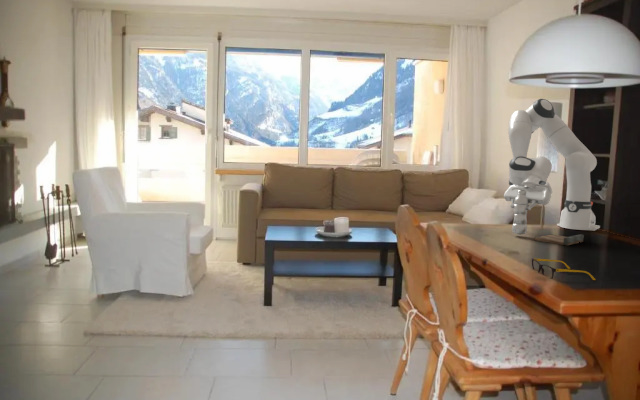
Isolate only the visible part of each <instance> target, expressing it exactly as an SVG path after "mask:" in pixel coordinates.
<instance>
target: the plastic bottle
mask: <svg viewBox="0 0 640 400" xmlns="http://www.w3.org/2000/svg"><path fill="white" fill-rule="evenodd" d="M526 194H527V193H526V190H518V196H517V197H516V198H515V200H514V208H513V209H514V210H513V211H514V212H513V213H514V216H513V217H514V218H513V221H512V222H513V223H512V227H511V231H512V233H513V234H516V235H525V234H527V232H528V223H527V222H528V221H527V214H528V210H527V209H526V207H527V205H530V203H529V200H528V198H527V197H526Z"/></svg>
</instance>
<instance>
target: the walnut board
mask: <svg viewBox="0 0 640 400" xmlns="http://www.w3.org/2000/svg"><path fill="white" fill-rule="evenodd" d="M584 237H585V235H584V234H581V233H580V234H576V235H570V236H563V235H557V234H547V235H542V236H538V237H534V241H539V242H544V243H550V244H557V245H563V246H570V245H575V244H579V242H580V243H583V242H584Z"/></svg>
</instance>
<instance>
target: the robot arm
mask: <svg viewBox="0 0 640 400" xmlns="http://www.w3.org/2000/svg"><path fill="white" fill-rule="evenodd" d="M508 121H509V122H508V125H507V126H508V129H507V131H508V132H507V133H508V139H509V142H510V148H511V153H512V159H511V160H509V164H508V165H509V166H508V169H509V171H508V173H509V174H508V177H509V178H508V185H509V186H508V188H507V189H506V190H505V192H504V194H503V197H504V198H503V199H504V200H505V201H506V202H511V204H510V208H511V209H514V200H515V198H516V197H517V196H518V190H526V193H527V194H526V197H527V198H528V200H529V205H527V207H526V209H527V211H531V210H532V208H534V207H535V206H537V205H543V206H546V205H548V204H549V202H551V201H550V200H551V198H552V193H553V190H552V187H551V185H550V183H549V182H548V181H547V180H548V178H549V177H550V174H551V171H552V167H553V166H552V162H551V160H550V159H548V158H547V157H545V156H541V155H539V156H537V157H528V152H529V147H530V143H531V139H532V134H533V133H535V131H537V130H538V129H539V128H540V129H541V130H542V132H543V133H544V135H545V136H546V138H547V139H548V141H549V142H550V144H551V145H552V146H553V147H554V149H555V150H556V151H557V152H558V153H559V154H560V155H561V156H562V157H564V159H565V162H564V164H565V169H566V171H565V174H566V197H565V200H564V208H563V209H562V210H561V212H560V218H559V222H558V223H556V226H558V227H560V228H563V229H564V228H565V229H569V230H579V231H591V232H592V231H593V232H594V231H597V230H599V229H600V228H601V225H597V224H596V215H595V213H594V211H593V210H592V206H593V204H594V202H593V201H591V195H592V183H591V182H592V181H591V172H593V170H595V168H596V166H597V164H598V162H597V161H598V160H597V158H596V156H595V155H594V154H593V152H591V151H590V150H589V149H588V148H587V146H585V144H583V142H581V141H580V140H579V138H578V137H577V136H576V135H575V133H574V132H573V131H572V129H571V128H570V127H569V125H567V123H566V122H565V121H564V120H563V119H562V118H561V117H560V116H558V114H555V109H554V106H553V104H552V102H550V101H549V100H548V99H545V98H539V99H537V100H535V101H533V102H532V104H530V106H529V107H527V108H526V109H525V110H522V109H517V110H515V111H514V112H512V113H511V115H510V118H509V120H508Z"/></svg>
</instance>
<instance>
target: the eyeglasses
mask: <svg viewBox="0 0 640 400" xmlns="http://www.w3.org/2000/svg"><path fill="white" fill-rule="evenodd" d="M534 262H536V263H537V264H538V270H537V273H540V272H541V273H542V275H543V276H545V269H544V268H543V266H544V267H547V268H549V269H551V277H550V279H553V278H554V275H555V272H557V273H560V272H561V273H562V272H565V273H566V272H568V273H585V274H587V275H588V276H589V277H590V278H591V279H592V281H596V278H595V277H594V276H593V275H592V274H591V273H590V272H588V271H586V270H580V269H579V270H578V269H577V270H576V269H571V267H570V266H569V265H568V264H567V263H566V262H565V261H563V260H558V259H549V258H547V259H546V258H545V259H544V258H531V266H532V267H531V268H532V270H534V271H535V266H534ZM540 262H554V263H555V262H556V263H557V262H558V263H562V264H564V266H565V267H566V268H565V269H564V268H555V267H551V266H550V265H547V264H541V263H540Z"/></svg>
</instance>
